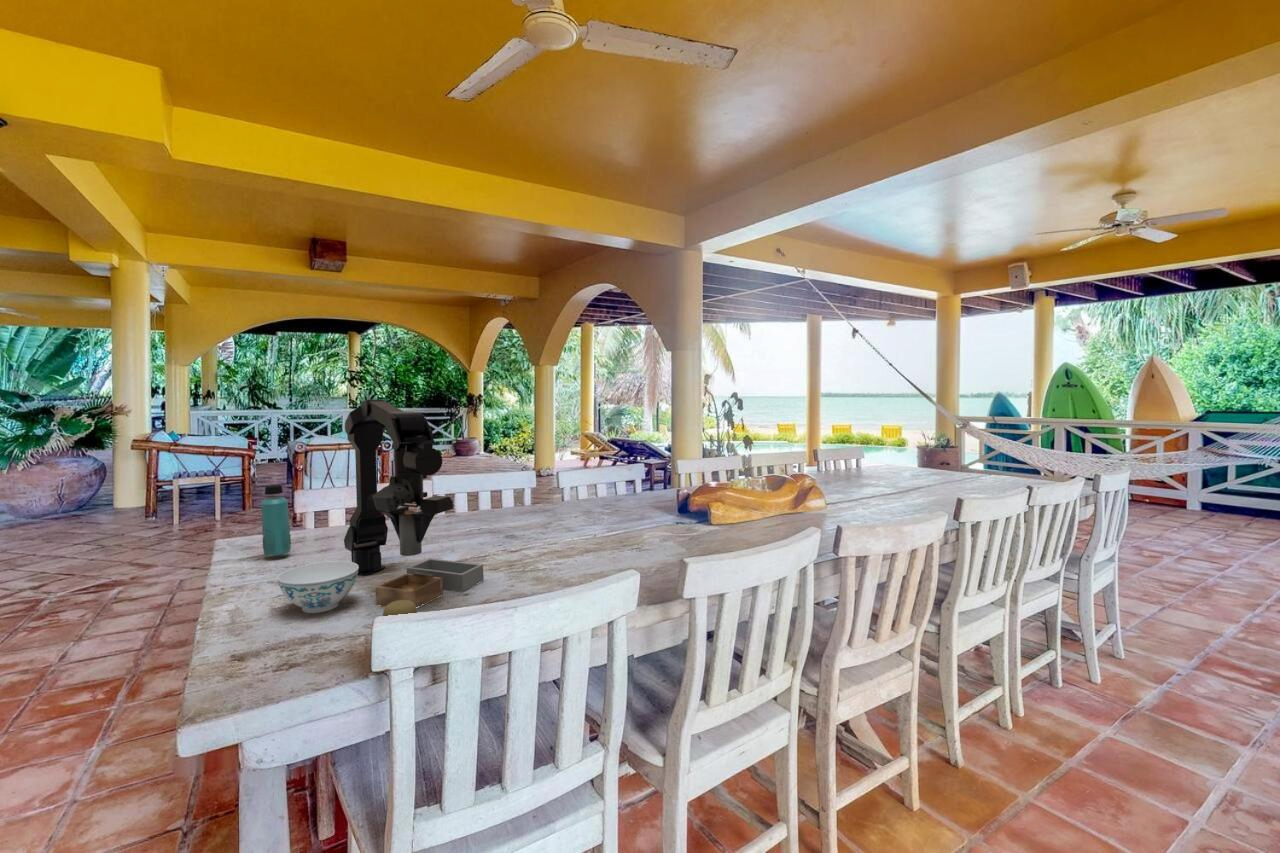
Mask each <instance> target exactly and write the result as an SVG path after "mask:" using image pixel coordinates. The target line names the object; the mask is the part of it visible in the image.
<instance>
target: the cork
mask: <svg viewBox="0 0 1280 853" xmlns="http://www.w3.org/2000/svg"><path fill="white" fill-rule="evenodd" d="M408 613H417V614H418V609H417V608H416V605H415V604H414V602H412V601H409V600H399V601H394V602H392V603H390V604H388V605H387V606H386V607H384V609H383V612H382V617H383V616H388V615H398V614H408ZM418 669H420V667H419V668H415V670H414V672H416V671H417V670H418ZM383 674H384V675H385V676H388V675H387V673H383Z"/></svg>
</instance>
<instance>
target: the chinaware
mask: <svg viewBox="0 0 1280 853" xmlns="http://www.w3.org/2000/svg"><path fill="white" fill-rule="evenodd" d="M358 569H359V566H358V565H357V564H356V563H353V562H352V561H348V560H347V561H346V560H326V561H318V562H310V563H306V564H302V565H298V566H295V567H291V568H289V569H286V570H285V571H282V572H280V573H279V574H278V575H277V577H276V579H277V583H278V585H279V588H280V591H281V592H282V594H283V595H284V597H285V598H286V599H287V600H288V601H289V602H290V603H292V604H293V605H296V606H297V607H300V608H302V610H301V611H303V613H307V614H317V613H324V612H327V611H331V610H333V609H335V608H337V607H338V606H339V602H340V601H342V599H343V598H345V597H346V596H347V595H348V594H349V593H350V591H351V590H352V589H353V586H354V585H355V582H356V579H357V577H358V575H359V574H358Z"/></svg>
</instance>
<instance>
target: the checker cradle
mask: <svg viewBox="0 0 1280 853" xmlns="http://www.w3.org/2000/svg"><path fill="white" fill-rule="evenodd" d="M406 583H414V584H422V586H420V587H418V588H416V589H414V590H412V591H411V590H404V589H397V588H398V587H400V586H402V585H404V584H406ZM374 588H375V606H376V605H381V606H380V607H383V606H387V605H388V604H390V603H392V602H394V601H399V600H409V601H412V602H414V604H415V605H416V607H418V606H421V605H422V604H425V603H427V602H429V601H431V600H433V599H435V598H437V597H439V596H441V595H444V591H443V590H444V589H443V585H442V578H439V577H434V574H426V573H418V572H415V573H413V574H408V573H407V572H406V574H403V575H400V576H398V577H396V578H394V579H391V580H389V581H386V582H384V583H382V584H380V585H378V586H375V587H374ZM441 597H442V596H441ZM439 598H440V597H439ZM437 599H438V598H437ZM435 600H436V599H435ZM433 601H434V600H433ZM431 602H432V601H431ZM429 603H430V602H429ZM427 604H428V603H427ZM425 605H426V604H425Z"/></svg>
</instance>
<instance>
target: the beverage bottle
mask: <svg viewBox="0 0 1280 853" xmlns="http://www.w3.org/2000/svg"><path fill="white" fill-rule="evenodd" d="M283 493H284V492H283V486H282V485H280V484H279V485H278V484H274V485H273V484H271V485H267V486H265V487H264V495H266V496H267V495H268V496H269V495H279V494H280V495H281V494H283ZM260 506H261V508H260V509H261V527H262V528H261V530H262V533H261V535H262V547H263V548H262V549H263V553H264V555H265V556H279V555H285V554H287V553H290V552H291V548H292V546H291V545H292V542H291V541H292V540H291V527H290V522H291V521H290V517H289V501H288V499H286V498H285V497H284V496H272V497H267V498H264V499H263V500H262V501H261V503H260Z"/></svg>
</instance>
